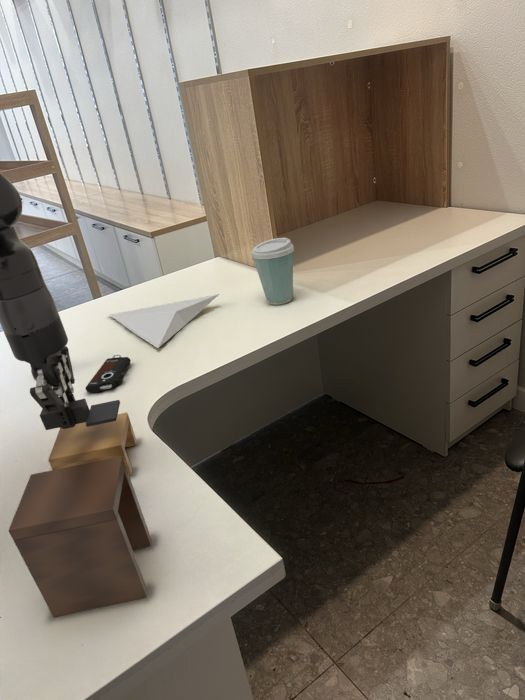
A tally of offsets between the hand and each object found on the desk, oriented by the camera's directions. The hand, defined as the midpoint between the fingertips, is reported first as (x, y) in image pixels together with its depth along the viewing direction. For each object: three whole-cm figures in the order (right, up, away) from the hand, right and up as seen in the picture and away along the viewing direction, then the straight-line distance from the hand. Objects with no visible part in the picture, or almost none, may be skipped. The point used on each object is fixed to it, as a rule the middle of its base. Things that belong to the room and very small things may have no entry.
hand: (71, 420), depth 82 cm
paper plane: (+3, +16, +49) cm, 52 cm away
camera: (-2, +5, +30) cm, 30 cm away
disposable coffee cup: (+34, +24, +54) cm, 68 cm away
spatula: (+2, 0, 0) cm, 2 cm away
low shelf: (+3, -8, +4) cm, 9 cm away
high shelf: (+10, -17, -16) cm, 25 cm away
